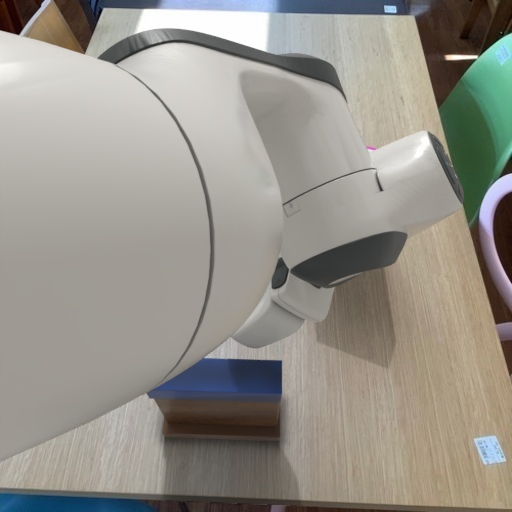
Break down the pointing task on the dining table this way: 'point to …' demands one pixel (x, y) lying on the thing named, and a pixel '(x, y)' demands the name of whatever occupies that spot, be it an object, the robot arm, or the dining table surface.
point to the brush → (223, 400)
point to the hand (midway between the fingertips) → (219, 279)
